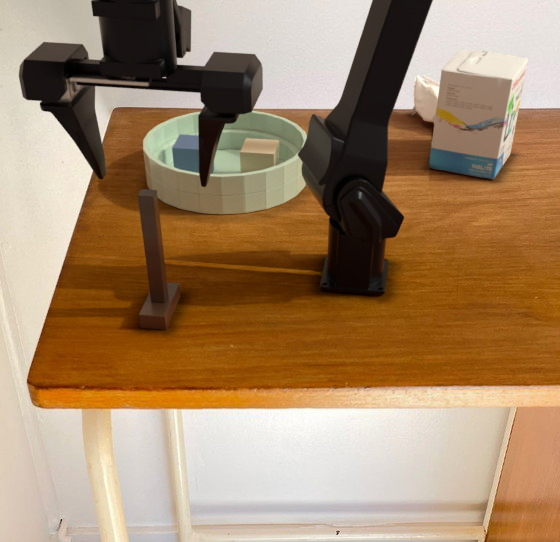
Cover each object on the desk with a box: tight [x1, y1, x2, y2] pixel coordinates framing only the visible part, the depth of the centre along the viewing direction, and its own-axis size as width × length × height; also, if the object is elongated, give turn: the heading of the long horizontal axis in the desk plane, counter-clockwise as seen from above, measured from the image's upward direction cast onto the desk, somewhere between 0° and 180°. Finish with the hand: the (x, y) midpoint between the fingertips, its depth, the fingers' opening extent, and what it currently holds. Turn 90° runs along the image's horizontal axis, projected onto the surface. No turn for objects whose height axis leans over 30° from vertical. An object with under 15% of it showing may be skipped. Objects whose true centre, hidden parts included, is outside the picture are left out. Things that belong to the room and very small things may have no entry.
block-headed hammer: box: [137, 188, 182, 331], centre depth 78 cm, size 6×2×12 cm, turn 172°
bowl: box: [142, 110, 307, 215], centre depth 101 cm, size 19×19×5 cm
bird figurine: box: [411, 74, 440, 124], centre depth 113 cm, size 5×7×10 cm
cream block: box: [240, 138, 279, 173], centre depth 100 cm, size 4×4×4 cm
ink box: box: [428, 48, 529, 180], centre depth 102 cm, size 8×8×12 cm
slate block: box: [172, 134, 214, 174], centre depth 101 cm, size 4×4×4 cm
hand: (153, 181), depth 74 cm, fingers open, 9 cm apart
